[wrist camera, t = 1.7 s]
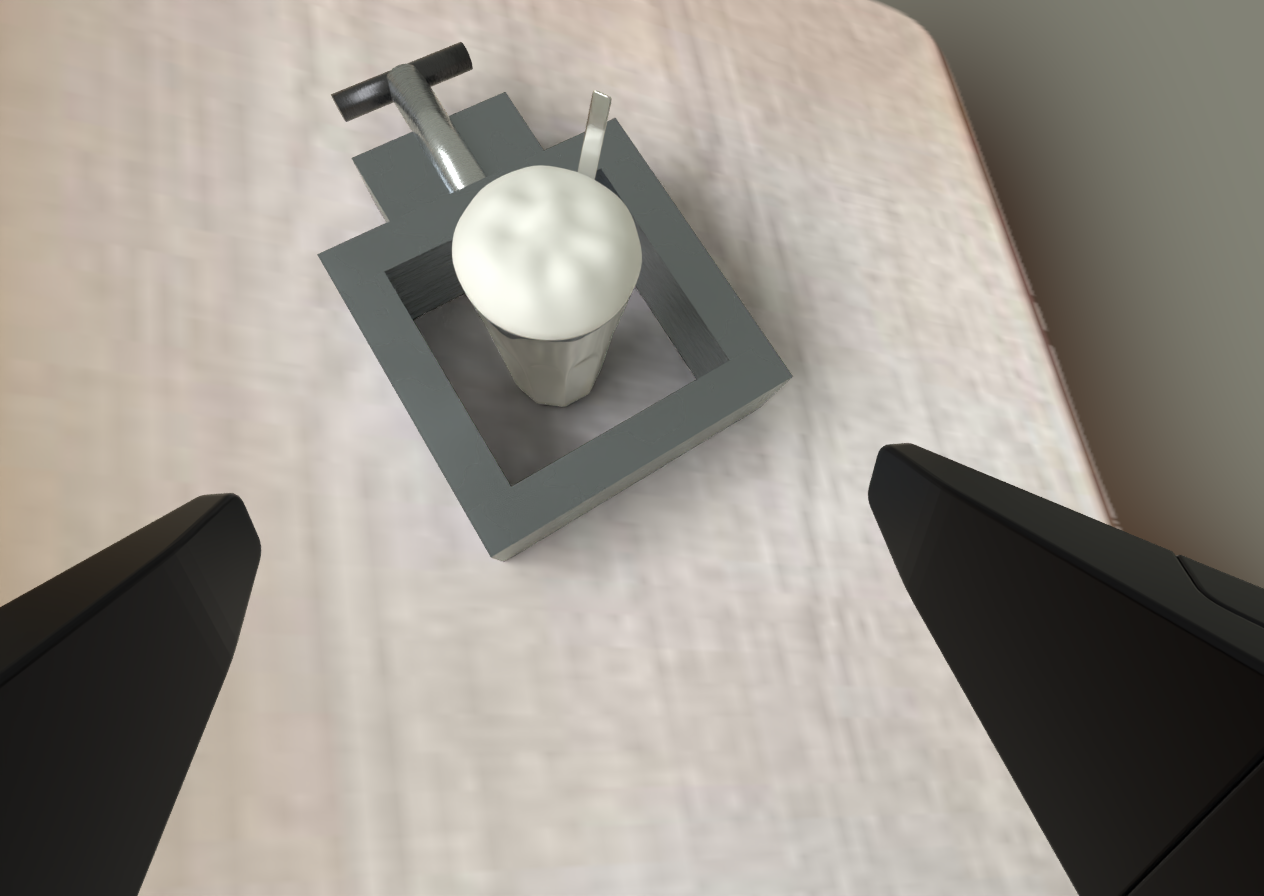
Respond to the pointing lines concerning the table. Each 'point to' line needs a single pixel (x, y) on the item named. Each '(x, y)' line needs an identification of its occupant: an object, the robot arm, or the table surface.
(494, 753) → the table surface
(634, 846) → the table surface
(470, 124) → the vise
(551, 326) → the milkshake
